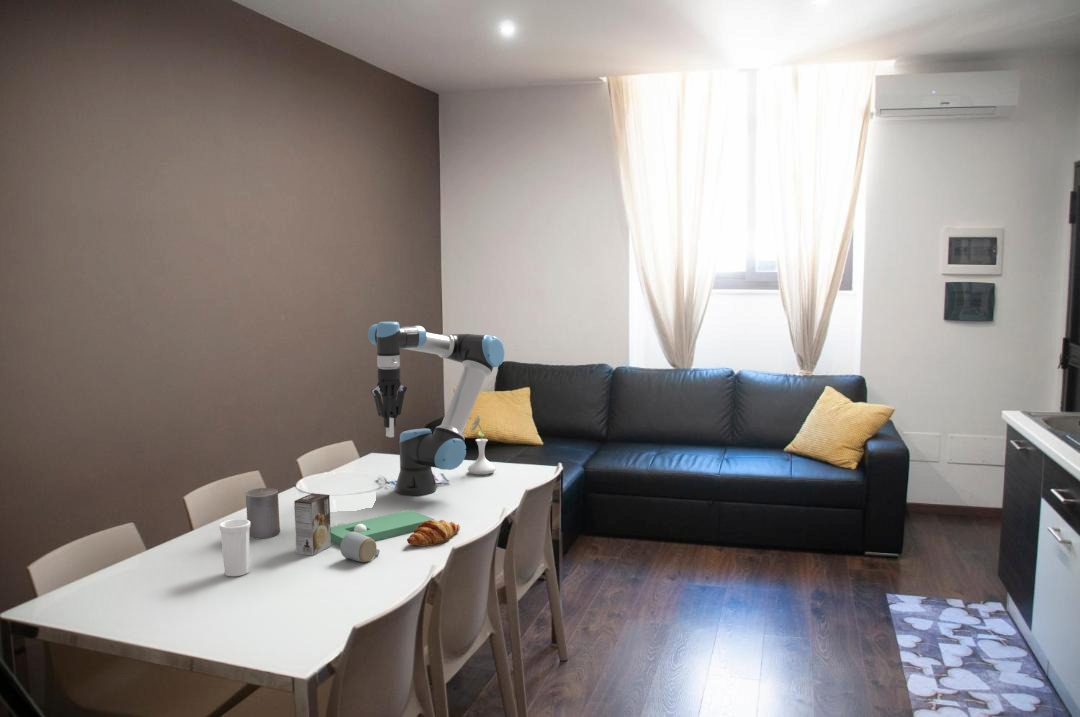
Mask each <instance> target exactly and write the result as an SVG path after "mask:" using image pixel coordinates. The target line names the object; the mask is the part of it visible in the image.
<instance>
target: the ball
mask: <svg viewBox="0 0 1080 717" xmlns="http://www.w3.org/2000/svg"><path fill="white" fill-rule="evenodd" d="M366 530H367V528H366V526H365V525H363V524H358V525H356V526H355V528H354V532H357V533H358V532H362V531H366Z"/></svg>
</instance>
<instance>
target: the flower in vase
mask: <svg viewBox="0 0 1080 717" xmlns="http://www.w3.org/2000/svg"><path fill="white" fill-rule="evenodd" d="M481 419H482V414H480V413H478V414H477V415H476V417H474V420H473V422H472V423H471V427H470V428H469V430H470V432H474V431H475V430H476V429H477V428H478V427H479V428H480V430H479V431H478V432H477V435H478V436H479V437H480V438H477V439H475V440H474V441H475V442H476V444H477V446H478V457H477V459H475V461H473V462H472V463H471V464H470V465H469V466H468V468H467V471H468V472H469V473H471V474H473V475H482V476H483V475H490V474H492V473H494V472H495V471H496V467H495V465H494V464H493V463H492V462H490V461H489V460H488V459H487V458H486V456H485V448H486V445H487V442H488V441H489V439H487V438H484V436H485V434H484V433H483V430H482V429H483V428H482V427H481V425H480V422H481Z"/></svg>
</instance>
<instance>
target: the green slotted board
mask: <svg viewBox="0 0 1080 717" xmlns="http://www.w3.org/2000/svg"><path fill="white" fill-rule="evenodd" d="M427 520H435V518H432V517H430V516H428V515H425V514H422V513H420V512H418V511H415V510H413V509H407V510H403V511H399V512H394V513H390V514H384V515H380V516H377V517H373V518H372V517H371V518H367V519H363V520H359V521H354V522H349V523H344V524H341V525H335V526H330V527H331V542H333V543H335V544H337V545H339V546H341V542H342V540H343V538H344V536H345V535H346V534H347V533H349V532H354V528H355V526H356V525H358V524H363V525H365V526H366V528H367V530H366V531H362V532H358V533H359V534H362V535H364V536H368V537H370V538H372V539H373V540H374V541H375V542H377V541H381V540H384V539H385V540H386V539H389V538H392V537H397V536H401V535H406V534H409V533H414V531H415V530H416V529H417V528H418V526H419V525H420V524H421V523H423V522H424V521H427Z"/></svg>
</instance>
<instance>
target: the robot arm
mask: <svg viewBox="0 0 1080 717" xmlns="http://www.w3.org/2000/svg"><path fill="white" fill-rule="evenodd" d="M367 338H368V341H369V343H370V344H372V345H375V346H376V350H377V353H376V354H377V356H376V357H377V358H376V360H377V361H376V363H377V364H376V365H377V367H378V368H377V384H376V385H377V386H376V387H375V388H374V389H371V390H370V393H371V394H372V396H373V398H374V402H375V406H376V411H377V415H378V417H381V418H383V426H384V428H385V437H387V438H394V437H395V427H396V420H397V418H398V416H400V415H401V414H402V410H403V409H402V408H403V404H404V398H405V393H406V391H407V390H408V388H407V386H404V385H402V382H401V381H400V380H401V368H400V366H401V350H409V351H414V352H421V353H427V354H432V355H433V354H434V355H437V356H438V357H440V359H446V360H451V361H452V362H453V361H454V362H457V363H460V364H462V366H463V371H462V373H461V375H460V378H459V380H458V383H457V385H456V388H455V389H454V390H455V391H454V392H453V395H452V397H451V399H450V402H449V404H448V408H447V410H446V412H445V415H444V416H443V419H442V422H441V424H440V425H438V426H436V427H435V428H434V430H433V433H432V429H430V428H415V429H409V430H405V431H402V432H401V433H400V434H399V442H398V444H399V469H400V470H399V473H398V477H397V481H396V484H395V492H396V493H397V494H400V495H404V496H424V495H429V494H432V493H435V492H436V491H437V482H436V479H435V476H434V473H433V470H432V469H433V468H434V469H435V468H436V469H439V470H443V471H444V470H447V471H450V470H454V469H457V468H459V467H460V466H461V465H462V463H463V462H464V460H465V458H466V455H467V450H466V449H467V446H466V444H465V436H464V431H465V428H466V426H467V423H468V421H469V419H470V416H471V414H472V412H473V409H474V406H475V404H476V401H477V398H478V396H479V393H480V392H481V389H482V386H483V384H484V381H485V379H486V377H487V376H490V375H492V372H493V369H494V368H498V367H499V366H501V365H502V364H503V361H504V359H505V349H504V344H503V342H502V341H501V339H500V338H499V337H497V336H493V335H489V334H485V335H484V334H474V333H472V334H471V333H448V332H447V333H446V332H444V333H441V334H438V333H434V332H427V330H426V329H425V328H424V327H423V326H422V325H400V323H399V322H398V321H379V322H378V323H377V324H375V323H374V324H372V325H370V327H369V329H368V332H367Z"/></svg>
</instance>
